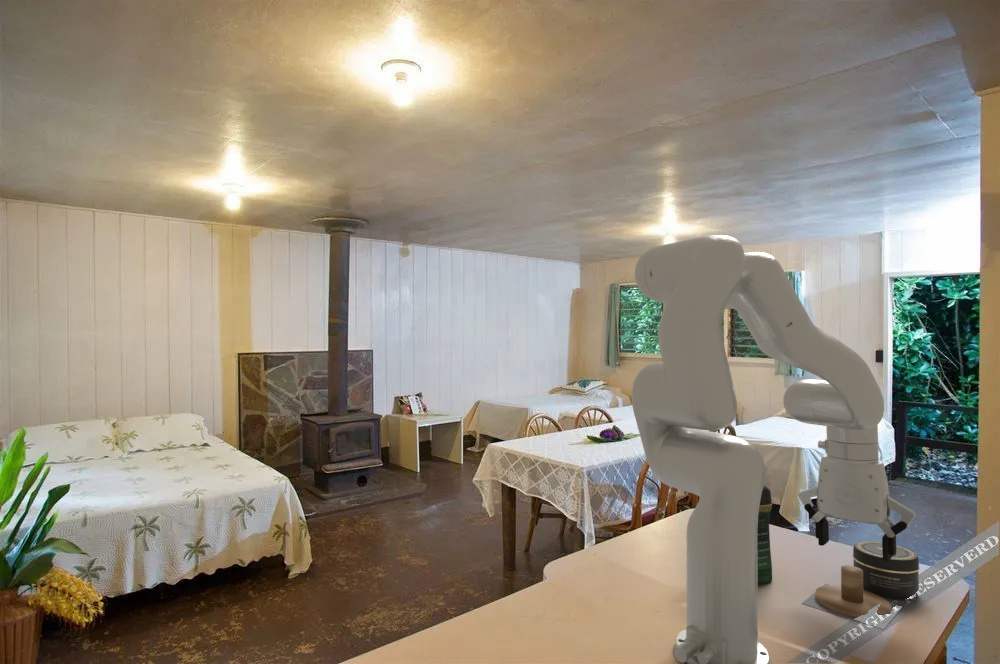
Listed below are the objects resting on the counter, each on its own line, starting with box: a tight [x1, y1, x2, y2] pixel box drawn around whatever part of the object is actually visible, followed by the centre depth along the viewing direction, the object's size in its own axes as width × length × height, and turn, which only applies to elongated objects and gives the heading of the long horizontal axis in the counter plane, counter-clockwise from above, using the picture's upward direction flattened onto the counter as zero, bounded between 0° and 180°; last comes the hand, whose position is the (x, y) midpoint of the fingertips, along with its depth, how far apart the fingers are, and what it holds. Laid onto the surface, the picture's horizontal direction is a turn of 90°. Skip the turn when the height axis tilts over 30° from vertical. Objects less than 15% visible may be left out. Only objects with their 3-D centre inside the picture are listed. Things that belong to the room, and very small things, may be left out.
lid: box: [814, 565, 892, 618], centre depth 97 cm, size 11×11×6 cm
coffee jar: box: [757, 485, 773, 586], centre depth 109 cm, size 10×8×19 cm
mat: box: [801, 583, 897, 631], centre depth 96 cm, size 12×12×1 cm
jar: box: [852, 540, 920, 601], centre depth 103 cm, size 10×10×8 cm
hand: (854, 550), depth 97 cm, fingers open, 9 cm apart
